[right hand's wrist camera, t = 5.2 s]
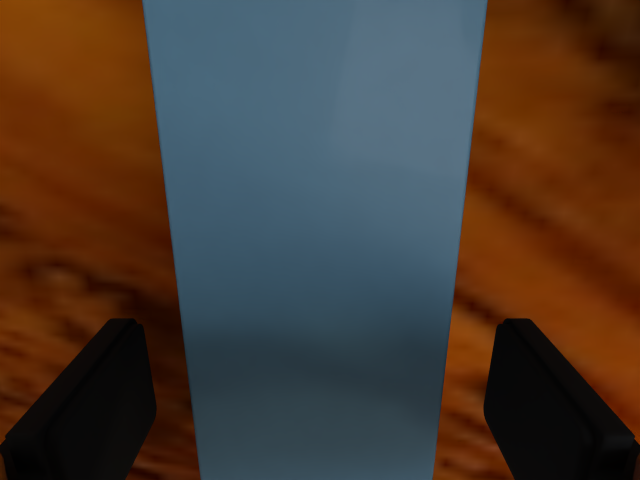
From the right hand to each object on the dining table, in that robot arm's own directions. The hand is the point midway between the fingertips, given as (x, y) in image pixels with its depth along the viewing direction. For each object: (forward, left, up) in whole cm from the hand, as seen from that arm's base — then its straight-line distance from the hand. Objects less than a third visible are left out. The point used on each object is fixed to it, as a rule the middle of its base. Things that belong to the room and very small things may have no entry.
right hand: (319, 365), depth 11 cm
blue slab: (0, +7, -9) cm, 12 cm away
